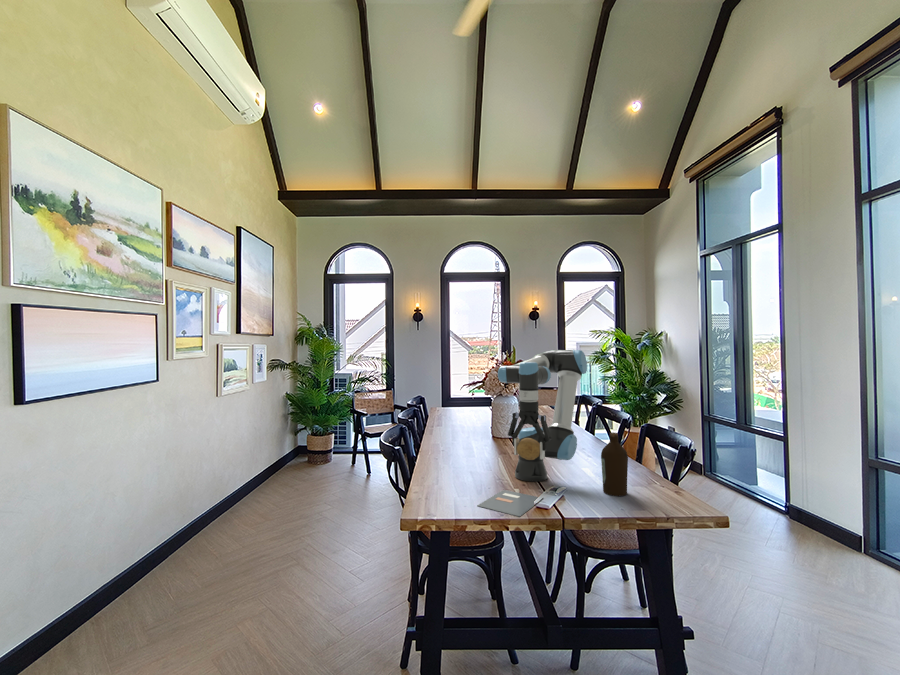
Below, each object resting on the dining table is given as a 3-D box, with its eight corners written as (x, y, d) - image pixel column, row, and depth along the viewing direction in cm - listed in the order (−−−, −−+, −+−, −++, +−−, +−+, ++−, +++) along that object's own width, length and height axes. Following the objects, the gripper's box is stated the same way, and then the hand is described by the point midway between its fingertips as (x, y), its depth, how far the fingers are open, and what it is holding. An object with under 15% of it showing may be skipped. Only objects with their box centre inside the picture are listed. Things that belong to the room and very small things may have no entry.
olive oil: (628, 490, 175) (627, 431, 176) (629, 498, 165) (628, 436, 166) (601, 487, 179) (600, 430, 180) (601, 495, 169) (600, 434, 170)
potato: (539, 454, 169) (538, 435, 169) (543, 464, 155) (543, 443, 155) (515, 454, 170) (515, 435, 170) (517, 463, 156) (517, 442, 156)
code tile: (503, 490, 176) (503, 489, 176) (543, 498, 165) (543, 497, 165) (477, 506, 158) (477, 505, 158) (519, 516, 147) (519, 515, 147)
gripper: (499, 399, 167) (499, 454, 166) (552, 403, 153) (552, 463, 152) (508, 398, 173) (508, 450, 172) (560, 402, 159) (560, 459, 158)
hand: (529, 456), depth 162 cm, fingers closed on potato, 10 cm apart
